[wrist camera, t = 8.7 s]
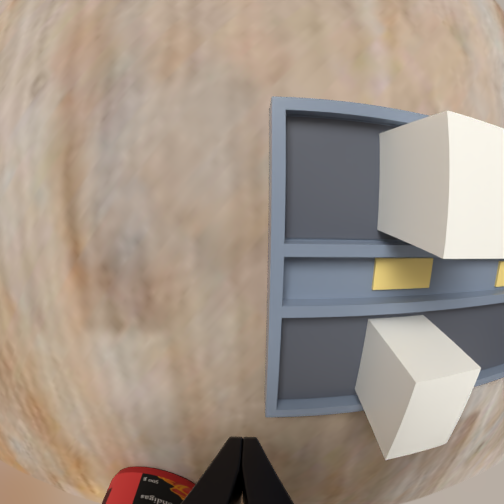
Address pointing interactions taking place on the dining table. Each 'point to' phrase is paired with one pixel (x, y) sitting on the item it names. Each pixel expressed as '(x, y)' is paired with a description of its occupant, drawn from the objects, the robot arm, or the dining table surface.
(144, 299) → the dining table surface
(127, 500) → the canned food
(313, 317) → the divided tray
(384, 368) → the white block
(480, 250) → the cream rectangular block
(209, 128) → the dining table surface
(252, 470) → the robot arm
